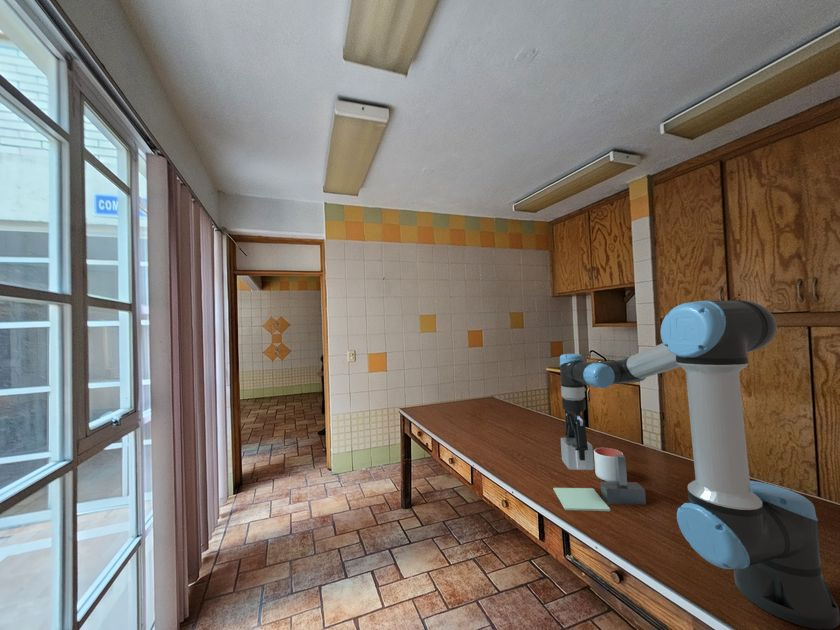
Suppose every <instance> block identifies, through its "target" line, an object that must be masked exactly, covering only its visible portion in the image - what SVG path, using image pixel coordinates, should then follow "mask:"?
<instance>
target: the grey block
mask: <svg viewBox="0 0 840 630" xmlns="http://www.w3.org/2000/svg"><path fill="white" fill-rule="evenodd" d="M626 460H627V459H626V456H625V455H624V454H623V455H622V454H615V468H616V482H607V481H599V483H600V494H601V496H600V497H601V499H602V500H603V501H604V502H605V503H606V505H639V506H640V505H644V506H646V505H647V501H646V498H647V497H646V489H645V488H644V487H643V486H642V485H641V484H640V483H639V482H636V481H634V482H633V481H631V482H630V481H628V478H627V462H626Z"/></svg>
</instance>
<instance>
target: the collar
mask: <svg viewBox="0 0 840 630" xmlns="http://www.w3.org/2000/svg"><path fill="white" fill-rule="evenodd" d="M587 445H588V450H585V455H586V469H577V457H576V450H575V448H577V445H576V439H575V438H567V437H560V448H561V449H560V451H561V461H562V462H563V463H564V465H565V466H566V468H567V469H568V470H573V471H575V470H576V471H577V470H580V471H581V470H582V471H585V470H586V471H591V470H592V471H595V461H594V449H593V444H591V443H590V442H589V441H588V440H587Z"/></svg>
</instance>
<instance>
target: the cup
mask: <svg viewBox="0 0 840 630" xmlns="http://www.w3.org/2000/svg"><path fill="white" fill-rule="evenodd" d="M615 454H622V455H623V456H624V454H623V452H622V451H620V450H618V449H615V448H610V447H597V448H595V449H593V461H594V471H595V475H596V477H597V478H598V479H600V480H602V481H603V482H616V468H615Z"/></svg>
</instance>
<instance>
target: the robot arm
mask: <svg viewBox="0 0 840 630" xmlns="http://www.w3.org/2000/svg"><path fill="white" fill-rule="evenodd" d="M777 329H778V326H777V321H776V318H775V317H774V315H773V314H772V312H771V311H770V310H769V309H768V308H767V307H765V306H763V305H761V304H759V303H757V302H754V301H750V300H744V299H741V300H740V299H739V300H738V299H735V300H734V299H733V300H698V301H692V302H691V301H690V302H684V303H681V304H679V305H677V306H675V307H673V308H672V309H670V310H669V312H668V313H666V315H665V316H664V318H663V320H662V323H661V325H660V337H661V341H662V343H659V344H657V345H655V346H652V347H650V348H647V349H644V350H643V351H640V352H637V353H635V354H633V355H630V356H628V357H626V358H623V359H619V360H607V361H595V362H594V361H584V357H583V355H582V354H580V353H563V354H561V355H560V356H559V375H560V392H561V393H560V395H561V397H562V398H561V408H562V409H563V410H564V416H565V417H564V418H565V420H564V421H565V423H564V425H565V427H564V428H565V429H564V430H565V431H564V432H565V433H564V434H565V437H566V438H575V439H576V445H577V448H575V450H576V457H577V469H586V455H585V450H588V445H587V441H588V438H587V431H586V420H585V418H584V419H583V416H582V414H581V413H582V412H584V411H585V410H587V409H586V407H587V405H586V404H587V403H586V399H585V398H586V393H585V392H586V391H587V388H585V385H586V386H590V387H593V388H596V389H598V388H601V389H607V388H609V387H610V386H611V385H618V384H628V383H629V384H636V383H640V382H643V381H644V380H646V379H647V378H648V377H651V376H654V375H658V374H661V373H665V372H668V371H670V370H675V369H678V368H682V369H683V370H684V371H685V377H686V389H687V401H688V412H689V422H690V434H691V444H692V445H691V446H692V454H693V466H694V477H695V479H694V480H692V481H691V482H689V483H688V485H687V497H688V502H685V503H683V504H682V505H681V506H679V507H678V508H677V511H676V521H677V525H678V528H679V530H680V531H681V533H682V535H683V537H684V538H685V540H686V541H687V542H688V543H689V545H690V547H691V548H692V549H693V550H694V551H695V552H696V553H697V554H698V555H699V556H700V557H702V558H703V559H704V560H706V562H708V563H710V564H711V565H713V566H716V567H718V568H721V569H724V570H733V578H734V584H735V586H736V588H737V589H738V591H739V592H740V593H741V595H743V596H744V597H745V598H746V599H747V600H749V601H750V602H751V603H752V604H754V605H755V606H757V607H758V608H760V609H762V610H763V611H765V612H767V613H769V614H771V615H773V616H774V617H777V618H778V619H781V620H784V621H786V622H788V623H792V624H795V625H798V626H801V627H805V628H808V629H815V630H822V629H827V630H833V629H835V628H837V627H839V626H840V609H839V606H838V604H837V602H836V599H835V598H834V596H833V594H832V591H831V590H830V587H829V586H828V584H827V582H826V580H825V578H824V576H823V573H822V561H821V551H820V539H819V528H818V526H819V525H818V522H819V518H817V514H816V508H815V505H814V503H813V502H812V501H810V499H808V498H807V497H805V496H803V495H801V494H799V493H797V492H795V491H792V490H791V489H787V488H784V487H781V486H778V485H774V484H770V483H766V482H762V481H755V480H751V479H750V470H749V469H750V467H749V460H748V459H749V458H748V452H747V451H748V450H747V449H748V448H747V439H746V430H745V429H746V428H745V420H744V409H743V401H742V391H741V389H742V388H741V380H740V372H741V371H742V370H743V369H745V368H746V367H747V366H748V365H749V359H748V353H751V352H755V351H758V350H761V349H763V348H764V347H766V346H767V345H769V344H770V343H771V342H772V340H773V339H774V338H775V336H776V334H777Z"/></svg>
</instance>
